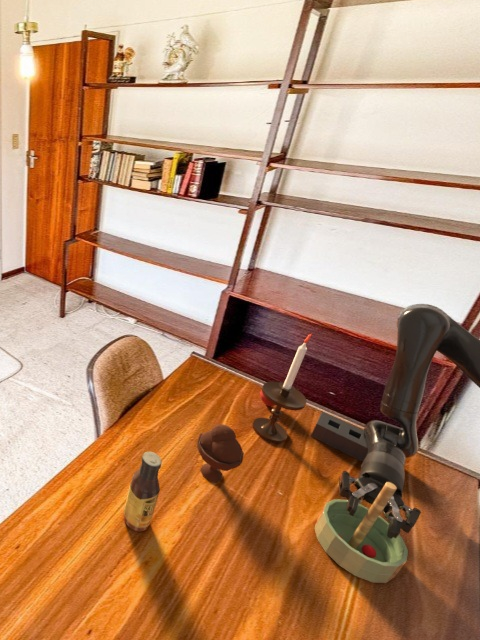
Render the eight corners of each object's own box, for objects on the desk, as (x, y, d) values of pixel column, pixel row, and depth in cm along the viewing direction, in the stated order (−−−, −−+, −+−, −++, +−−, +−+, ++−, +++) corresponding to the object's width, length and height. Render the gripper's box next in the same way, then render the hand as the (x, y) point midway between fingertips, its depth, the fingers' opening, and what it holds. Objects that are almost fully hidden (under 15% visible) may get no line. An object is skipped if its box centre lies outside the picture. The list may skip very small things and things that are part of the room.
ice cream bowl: (180, 462, 107) (193, 421, 101) (212, 452, 111) (226, 411, 105) (210, 496, 98) (225, 454, 92) (243, 483, 102) (260, 442, 96)
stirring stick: (357, 546, 88) (397, 485, 80) (356, 551, 87) (396, 491, 79) (348, 540, 89) (386, 480, 81) (347, 545, 88) (385, 485, 80)
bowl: (397, 549, 88) (410, 531, 86) (389, 601, 79) (404, 582, 76) (321, 505, 98) (331, 487, 95) (307, 546, 88) (317, 528, 85)
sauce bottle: (141, 539, 88) (157, 478, 80) (117, 519, 92) (130, 460, 84) (155, 519, 93) (172, 459, 84) (131, 501, 97) (145, 443, 88)
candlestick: (280, 420, 123) (320, 324, 108) (296, 447, 113) (343, 347, 98) (243, 415, 124) (278, 320, 109) (256, 442, 115) (296, 342, 100)
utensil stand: (388, 457, 111) (396, 445, 109) (384, 473, 107) (392, 460, 105) (316, 423, 123) (322, 411, 120) (310, 436, 118) (316, 423, 116)
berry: (374, 560, 86) (381, 553, 85) (366, 560, 85) (373, 553, 84) (364, 549, 88) (371, 542, 87) (356, 549, 87) (363, 542, 86)
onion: (272, 399, 132) (279, 380, 128) (280, 412, 126) (288, 392, 123) (254, 397, 132) (261, 379, 129) (261, 410, 127) (269, 390, 123)
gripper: (350, 445, 96) (336, 488, 85) (430, 484, 86) (426, 538, 76) (339, 467, 99) (324, 511, 88) (415, 507, 90) (408, 561, 79)
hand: (371, 523), depth 82 cm, fingers open, 5 cm apart
